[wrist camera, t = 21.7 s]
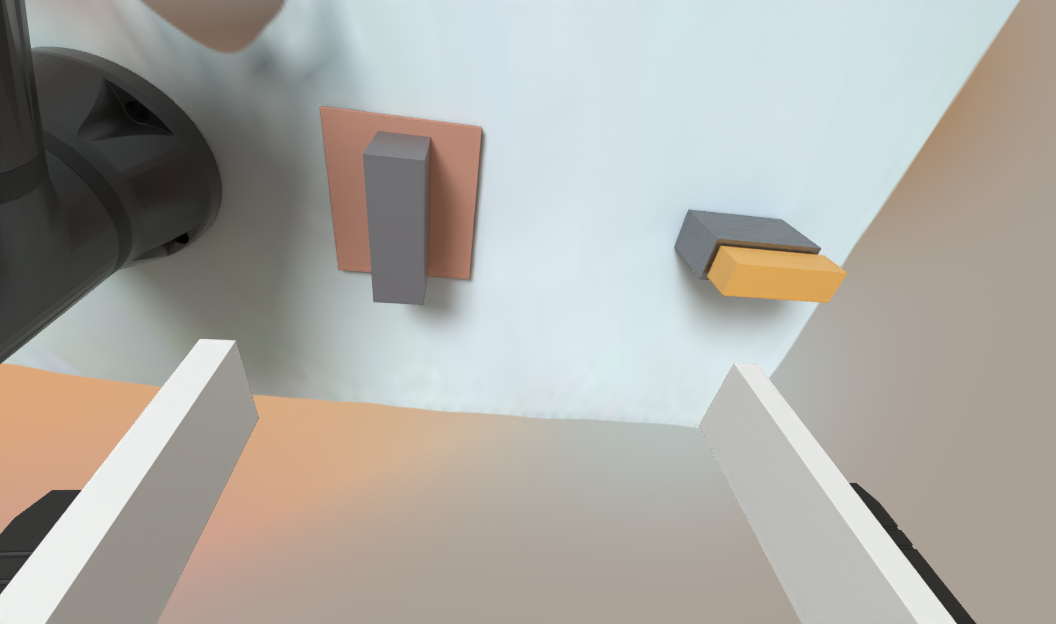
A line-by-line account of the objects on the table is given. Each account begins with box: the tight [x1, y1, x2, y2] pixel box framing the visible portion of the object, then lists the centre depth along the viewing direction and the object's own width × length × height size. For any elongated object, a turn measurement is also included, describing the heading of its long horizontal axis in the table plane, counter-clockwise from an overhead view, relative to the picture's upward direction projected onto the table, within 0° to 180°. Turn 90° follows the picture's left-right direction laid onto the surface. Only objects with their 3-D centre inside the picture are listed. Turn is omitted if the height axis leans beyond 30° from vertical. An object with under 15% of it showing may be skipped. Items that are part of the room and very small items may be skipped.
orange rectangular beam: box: [707, 246, 847, 303], centre depth 37 cm, size 10×3×3 cm, turn 81°
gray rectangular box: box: [674, 210, 821, 280], centre depth 41 cm, size 10×4×6 cm, turn 81°
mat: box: [320, 106, 482, 279], centre depth 38 cm, size 12×14×1 cm
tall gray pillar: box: [363, 131, 431, 305], centre depth 35 cm, size 4×12×6 cm, turn 172°
